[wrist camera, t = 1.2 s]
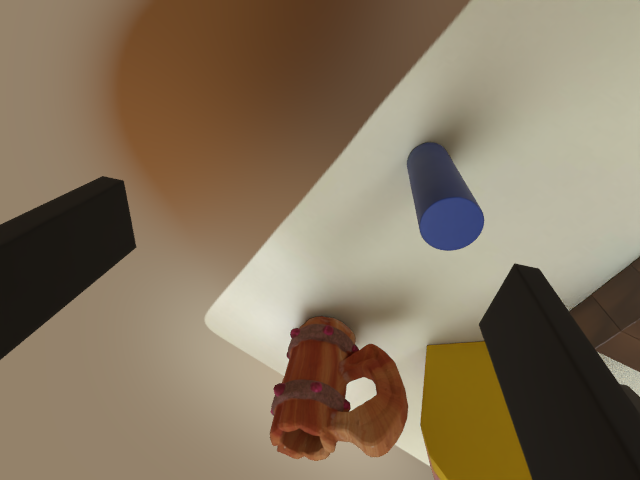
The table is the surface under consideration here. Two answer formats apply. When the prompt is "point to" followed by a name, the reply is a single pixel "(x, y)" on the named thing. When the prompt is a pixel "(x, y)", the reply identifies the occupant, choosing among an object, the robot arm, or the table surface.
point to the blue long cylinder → (442, 199)
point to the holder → (614, 317)
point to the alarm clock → (468, 417)
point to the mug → (335, 394)
